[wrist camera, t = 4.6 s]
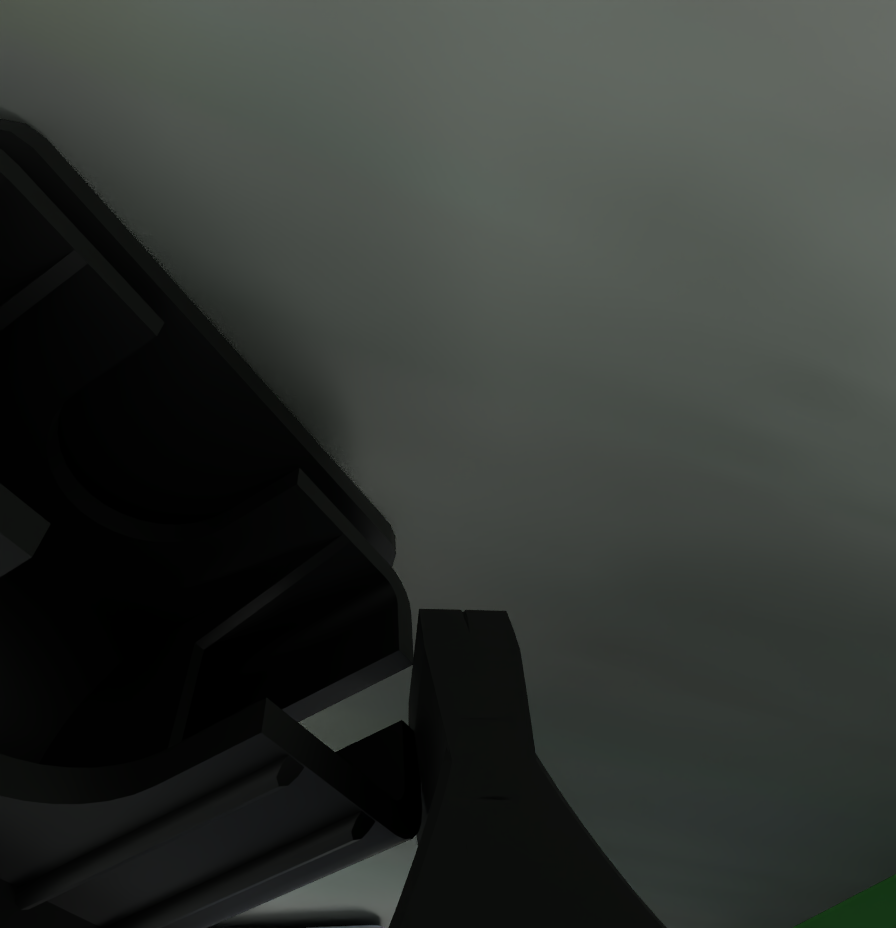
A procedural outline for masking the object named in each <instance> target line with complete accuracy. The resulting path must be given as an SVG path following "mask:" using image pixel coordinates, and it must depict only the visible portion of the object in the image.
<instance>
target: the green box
mask: <svg viewBox="0 0 896 928" xmlns="http://www.w3.org/2000/svg"><path fill="white" fill-rule="evenodd" d="M793 928H896V874H895V875H893V876H891V877H889V878H887V879H886V880H884V881H882V882H880V883H878V884H876V885H874V886H872V887H870V888H868V889H866V890H864V891H862V892H860V893H859V894H857V895H855V896H853V897H851V898H849V899H847V900H845V901H843V902H841V903H839V904H837V905H835V906H833V907H831V908H830V909H828V910H826V911H824V912H822V913H820V914H818V915H816V916H814V917H812V918H810V919H808V920H806V921H804V922H803V923H801V924H799V925H797V926H795V927H793Z"/></svg>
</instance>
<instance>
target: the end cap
mask: <svg viewBox="0 0 896 928" xmlns="http://www.w3.org/2000/svg"><path fill="white" fill-rule="evenodd" d="M395 555H396V549H395V535H394V533H393V530H392V528H391V526H390V524H389V523H388V522H387V521H386V519H385V518H384V517H383V516H382V515H381V514H380V513H379V512H378V510H377V509H376V508H375V507H374V506H373V505H372V504H371V503H370V501H369V500H368V499H367V498H366V497H365V496H364V495H363V494H362V492H361V491H360V490H359V489H358V488H357V487H356V486H355V485H354V483H353V482H352V481H351V480H350V479H349V478H348V477H347V476H346V474H345V473H344V472H343V471H342V470H341V469H340V468H339V467H338V465H337V464H336V463H335V462H334V461H333V460H332V459H331V458H330V456H329V455H328V454H327V453H326V452H325V451H324V450H323V449H322V447H321V446H320V445H319V444H318V443H317V442H316V441H315V440H314V438H313V437H312V436H311V435H310V434H309V433H308V432H307V431H306V429H305V428H304V427H303V426H302V425H301V424H300V423H299V422H298V420H297V419H296V418H295V417H294V416H293V415H292V414H291V413H290V411H289V410H288V409H287V408H286V407H285V406H284V405H283V404H282V402H281V401H280V400H279V399H278V398H277V397H276V396H275V395H274V394H273V392H272V391H271V390H270V389H269V388H268V387H267V386H266V385H265V383H264V382H263V381H262V380H261V379H260V378H259V377H258V376H257V374H256V373H255V372H254V371H253V370H252V369H251V368H250V367H249V365H248V364H247V363H246V362H245V361H244V360H243V359H242V358H241V356H240V355H239V354H238V353H237V352H236V351H235V350H234V349H233V347H232V346H231V345H230V344H229V343H228V342H227V341H226V340H225V338H224V337H223V336H222V335H221V334H220V333H219V332H218V331H217V329H216V328H215V327H214V326H213V325H212V324H211V323H210V322H209V320H208V319H207V318H206V317H205V316H204V315H203V314H202V313H201V311H200V310H199V309H198V308H197V307H196V306H195V305H194V304H193V302H192V301H191V300H190V299H189V298H188V297H187V296H186V295H185V293H184V292H183V291H182V290H181V289H180V288H179V287H178V286H177V284H176V283H175V282H174V281H173V280H172V279H171V278H170V277H169V275H168V274H167V273H166V272H165V271H164V270H163V269H162V268H161V267H160V265H159V264H158V263H157V262H156V261H155V260H154V259H153V258H152V256H151V255H150V254H149V253H148V252H147V251H146V250H145V249H144V247H143V246H142V245H141V244H140V243H139V242H138V241H137V240H136V238H135V237H134V236H133V235H132V234H131V233H130V232H129V231H128V229H127V228H126V227H125V226H124V225H123V224H122V223H121V222H120V220H119V219H118V218H117V217H116V216H115V215H114V214H113V213H112V211H111V210H110V209H109V208H108V207H107V206H106V205H105V204H104V202H103V201H102V200H101V199H100V198H99V197H98V196H97V195H96V193H95V192H94V191H93V190H92V189H91V188H90V187H89V186H88V184H87V183H86V182H85V181H84V180H83V179H82V178H81V177H80V175H79V174H78V173H77V172H76V171H75V170H74V169H73V168H72V166H71V165H70V164H69V163H68V162H67V161H66V160H65V159H64V157H63V156H62V155H61V154H60V153H59V152H58V151H57V150H56V148H55V147H54V146H53V145H52V144H51V143H50V142H49V141H48V140H47V139H46V138H45V137H43V136H42V135H41V134H39V133H38V132H36V131H35V130H34V129H32V128H31V127H30V126H28V125H27V124H24V123H19V122H14V121H9V120H3V119H0V928H208V927H210V926H212V925H215V924H217V923H219V922H222V921H224V920H226V919H228V918H231V917H233V916H235V915H238V914H240V913H242V912H245V911H247V910H249V909H251V908H254V907H256V906H258V905H261V904H263V903H265V902H268V901H270V900H272V899H274V898H277V897H279V896H281V895H284V894H286V893H288V892H291V891H293V890H295V889H297V888H300V887H302V886H304V885H307V884H309V883H311V882H314V881H316V880H318V879H320V878H323V877H325V876H327V875H330V874H332V873H334V872H337V871H339V870H341V869H343V868H346V867H348V866H350V865H353V864H355V863H357V862H360V861H362V860H364V859H366V858H369V857H371V856H373V855H376V854H378V853H380V852H383V851H385V850H387V849H389V848H392V847H394V846H396V845H399V844H401V843H403V842H406V841H408V840H410V839H413V837H414V836H415V835H416V834H417V833H418V832H419V829H420V826H421V822H422V797H421V780H420V772H419V764H418V757H417V749H416V741H415V734H414V731H413V730H412V729H411V728H410V727H409V726H408V725H407V724H406V723H405V722H404V721H402V720H401V721H399V722H397V723H395V724H393V725H391V726H389V727H387V728H385V729H382V730H380V731H378V732H376V733H374V734H372V735H370V736H368V737H366V738H364V739H362V740H360V741H358V742H355V743H353V744H351V745H349V746H347V747H345V748H343V749H341V750H339V751H337V752H334V751H333V750H331V749H330V748H329V747H328V746H326V745H325V744H324V743H323V742H321V741H320V740H319V739H318V738H316V737H315V736H314V735H313V734H311V733H310V732H309V731H308V730H306V729H305V728H304V727H303V726H301V725H300V724H299V723H298V722H299V721H301V720H303V719H305V718H307V717H309V716H311V715H313V714H315V713H317V712H319V711H321V710H323V709H325V708H327V707H329V706H331V705H333V704H335V703H337V702H339V701H341V700H343V699H345V698H347V697H349V696H351V695H353V694H355V693H357V692H359V691H361V690H363V689H365V688H367V687H369V686H371V685H373V684H375V683H377V682H379V681H381V680H383V679H385V678H387V677H389V676H391V675H393V674H395V673H397V672H399V671H401V670H403V669H405V668H407V667H409V666H411V665H413V660H414V657H413V639H412V622H411V610H410V603H409V600H408V597H407V594H406V591H405V589H404V587H403V585H402V582H401V581H400V579H399V577H398V576H397V574H396V572H395V571H394V570H393V568H392V566H393V562H394V558H395Z"/></svg>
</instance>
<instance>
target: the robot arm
mask: <svg viewBox="0 0 896 928" xmlns="http://www.w3.org/2000/svg"><path fill="white" fill-rule="evenodd" d="M409 727H410V728H411V729H412V730H413V731H414V734H415V741H416V749H417V757H418V764H419V772H420V780H421V797H422V822H421V826H420V829H419V832H418V833H417V841H418V848H417V851H416V854H415V857H414V860H413V863H412V866H411V868H410V871H409V874H408V877H407V880H406V883H405V885H404V888H403V891H402V894H401V897H400V899H399V902H398V905H397V907H396V910H395V913H394V915H393V918H392V921H391V923H390V926H389V928H666V927H665V926H664V925H663V923H662V922H661V921H660V920H659V919H658V918H657V917H656V915H655V914H654V913H653V912H652V911H651V910H650V909H649V907H648V906H647V905H646V904H645V903H644V902H643V901H642V899H641V898H640V897H639V896H638V895H637V894H636V893H635V891H634V890H633V889H632V888H631V886H630V885H629V884H628V883H627V881H626V880H625V879H624V878H623V876H622V875H621V874H620V873H619V871H618V870H617V869H616V867H615V866H614V865H613V864H612V862H611V861H610V860H609V859H608V857H607V856H606V855H605V854H604V852H603V851H602V850H601V848H600V847H599V846H598V844H597V843H596V842H595V840H594V839H593V837H592V836H591V835H590V833H589V832H588V831H587V829H586V828H585V827H584V825H583V824H582V823H581V821H580V820H579V818H578V817H577V816H576V814H575V813H574V811H573V810H572V808H571V807H570V806H569V804H568V803H567V801H566V800H565V798H564V797H563V795H562V794H561V792H560V791H559V789H558V788H557V786H556V785H555V783H554V782H553V780H552V778H551V777H550V775H549V774H548V772H547V771H546V769H545V768H544V766H543V764H542V763H541V761H540V760H539V758H538V756H537V755H536V753H535V747H534V740H533V733H532V726H531V719H530V713H529V706H528V699H527V692H526V685H525V678H524V672H523V665H522V659H521V653H520V648H519V645H518V642H517V639H516V636H515V633H514V630H513V627H512V625H511V622H510V620H509V617H508V614H507V612H506V611H489V610H465V611H464V612H462V611H461V610H445V609H419V615H418V624H417V633H416V642H415V651H414V660H413V669H412V678H411V686H410V695H409ZM308 928H385V927H382V926H379V925H361V926H334V927H308Z"/></svg>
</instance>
